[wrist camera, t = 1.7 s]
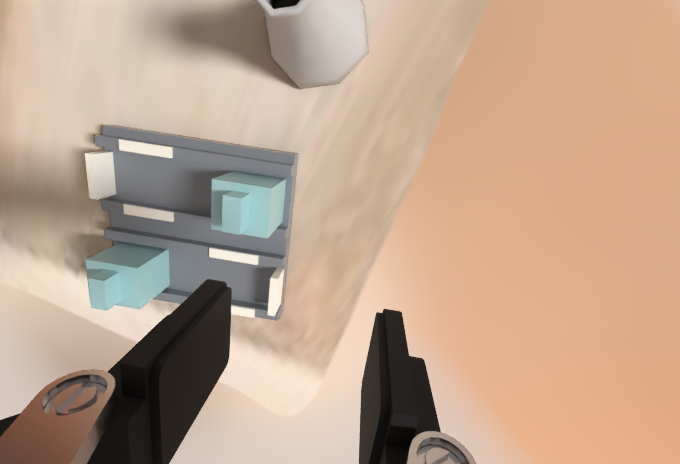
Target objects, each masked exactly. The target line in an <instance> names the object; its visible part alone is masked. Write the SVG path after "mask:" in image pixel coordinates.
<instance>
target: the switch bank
mask: <svg viewBox="0 0 680 464" xmlns="http://www.w3.org/2000/svg"><path fill="white" fill-rule="evenodd" d="M102 132H103V135H95V144H96V146H99V147H104V151H98V152H89V153H85V162H86V171H87V180H88V190H89V198H90V199H96V200H98V199H101V198H105V197H108V198H106V199H102V200H101V207H102V210H108V211H110V222H111V227H108V228H106V229H104V238H105V239H111V240H112V245H113V246H114V245H116V244H118V243H120V242H122V241H123V242H129V243H135V244H141V245H147V246H153V247H159V248H165V249H169V277H170V285H169V286H168V287H167V288H166V289H164V290H163V291H162V292H161V293H159V294H158V295H157V296H156V297H154V298H153V299H156V300H162V301H168V302H173V303H179V304H182V303H183V302H184V301H185V300H186V299H187V298H188V297H189V296H190V295H191V294H192V293H193V292H194V291H195V290H196V289H197V288H198V287H199V286H200V285H201V284H202V283H203V282H205V281H206V280H207V279H212V280H218V281H224V282H226V284H227V287H231V289H232V299H231V314H234V315H240V316H246V317H251V318H254V317H260V318H265V319H271V320H278V319H280V317H281V315H282V312H283V304H284V294H285V283H286V273H287V263H288V253H289V243H290V233H291V222H292V212H293V202H294V192H295V182H296V172H297V161H298V154H297V153H291V152H284V151H278V150H271V149H265V148H258V147H252V146H245V145H239V144H232V143H226V142H219V141H213V140H207V139H200V138H194V137H187V136H181V135H174V134H168V133H161V132H155V131H148V130H142V129H135V128H129V127H123V126H116V125H102ZM233 171H241V172H248V173H254V174H260V175H267V176H273V177H279V178H286V187H285V198H284V209H283V220H282V223H281V224H280V225H279V226H278V227H277V229H276V230H275V231H274V232H273V233H272V234H271V235H270V237H269V238H262V237H256V236H250V235H243V234H240V235H238V234H232V233H226V232H222V231H219V230H213V229H211V198H212V179H213V178H216V177H219V176H222V175H224V174H227V173H230V172H233Z"/></svg>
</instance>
